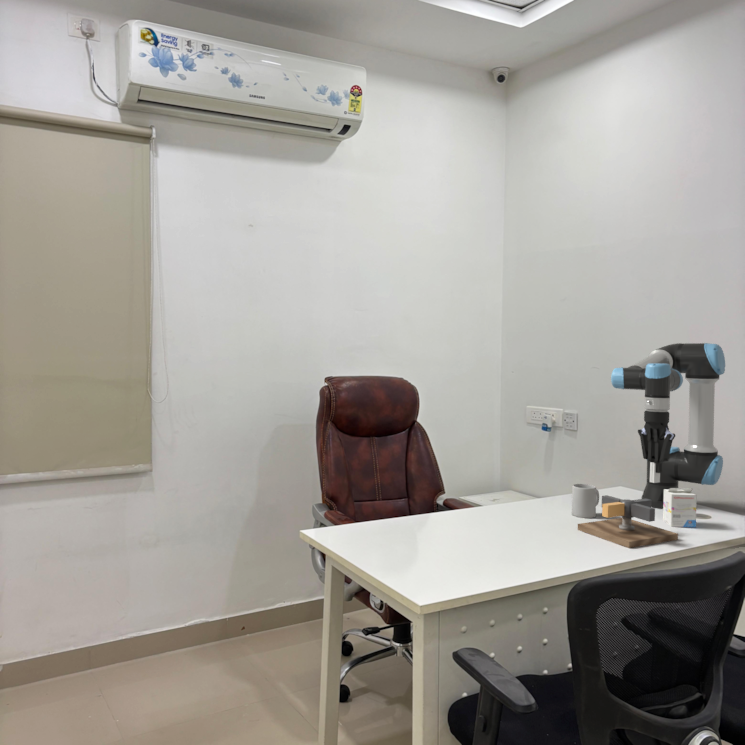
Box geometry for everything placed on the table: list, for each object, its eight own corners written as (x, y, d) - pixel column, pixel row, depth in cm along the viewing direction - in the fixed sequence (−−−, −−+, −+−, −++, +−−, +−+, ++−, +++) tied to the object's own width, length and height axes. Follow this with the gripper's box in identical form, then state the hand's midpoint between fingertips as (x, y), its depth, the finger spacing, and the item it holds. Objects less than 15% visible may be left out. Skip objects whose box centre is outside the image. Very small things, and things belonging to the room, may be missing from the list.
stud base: (624, 522, 227) (624, 506, 227) (677, 539, 207) (678, 521, 207) (577, 529, 217) (577, 512, 217) (629, 548, 197) (629, 528, 197)
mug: (584, 519, 231) (585, 489, 231) (566, 514, 238) (567, 484, 238) (607, 515, 237) (607, 486, 237) (588, 510, 244) (589, 482, 244)
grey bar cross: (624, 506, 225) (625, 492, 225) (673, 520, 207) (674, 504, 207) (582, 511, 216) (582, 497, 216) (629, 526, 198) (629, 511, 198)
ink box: (686, 521, 230) (688, 484, 229) (696, 528, 222) (697, 489, 221) (662, 520, 231) (663, 484, 230) (670, 527, 222) (671, 489, 222)
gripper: (632, 409, 212) (630, 479, 213) (666, 412, 200) (663, 487, 201) (648, 408, 215) (646, 477, 216) (682, 412, 203) (680, 485, 204)
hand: (654, 482), depth 208 cm, fingers closed
